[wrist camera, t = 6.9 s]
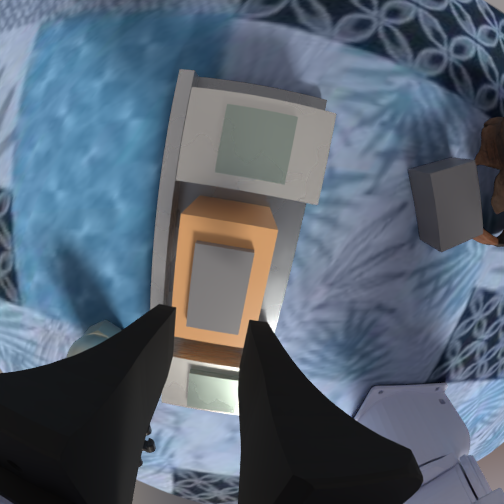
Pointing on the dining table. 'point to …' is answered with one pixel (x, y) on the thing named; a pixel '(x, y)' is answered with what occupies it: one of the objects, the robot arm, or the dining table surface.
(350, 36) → the dining table surface
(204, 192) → the rail plate
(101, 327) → the valve
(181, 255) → the orange module
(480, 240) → the knobbed brown ring
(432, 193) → the dark gray block
